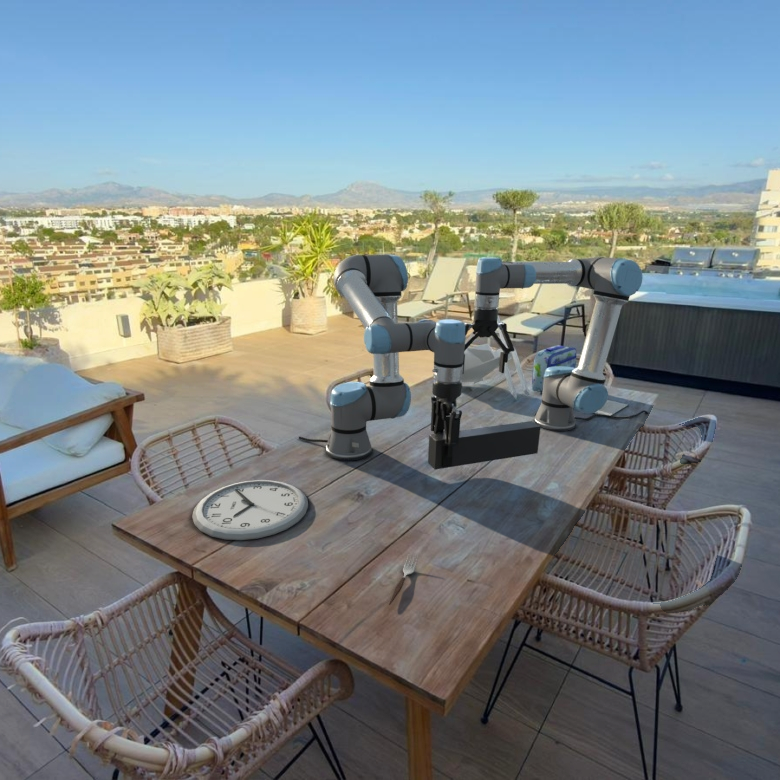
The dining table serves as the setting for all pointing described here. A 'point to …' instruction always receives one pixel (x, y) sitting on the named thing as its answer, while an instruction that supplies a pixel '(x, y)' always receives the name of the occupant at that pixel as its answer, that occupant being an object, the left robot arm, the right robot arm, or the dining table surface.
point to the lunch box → (551, 363)
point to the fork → (407, 571)
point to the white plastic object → (490, 364)
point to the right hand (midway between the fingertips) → (481, 372)
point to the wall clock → (250, 510)
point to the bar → (487, 444)
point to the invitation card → (611, 408)
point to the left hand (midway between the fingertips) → (442, 462)
